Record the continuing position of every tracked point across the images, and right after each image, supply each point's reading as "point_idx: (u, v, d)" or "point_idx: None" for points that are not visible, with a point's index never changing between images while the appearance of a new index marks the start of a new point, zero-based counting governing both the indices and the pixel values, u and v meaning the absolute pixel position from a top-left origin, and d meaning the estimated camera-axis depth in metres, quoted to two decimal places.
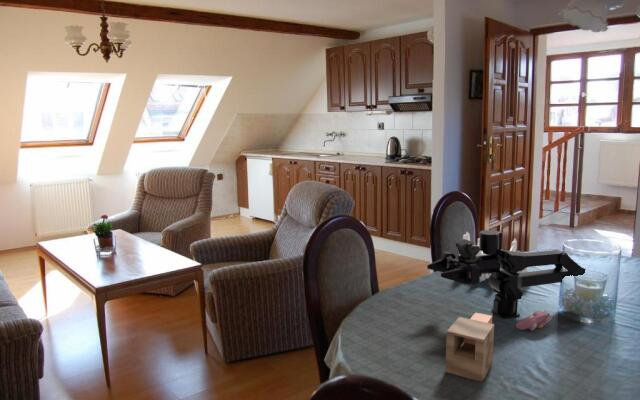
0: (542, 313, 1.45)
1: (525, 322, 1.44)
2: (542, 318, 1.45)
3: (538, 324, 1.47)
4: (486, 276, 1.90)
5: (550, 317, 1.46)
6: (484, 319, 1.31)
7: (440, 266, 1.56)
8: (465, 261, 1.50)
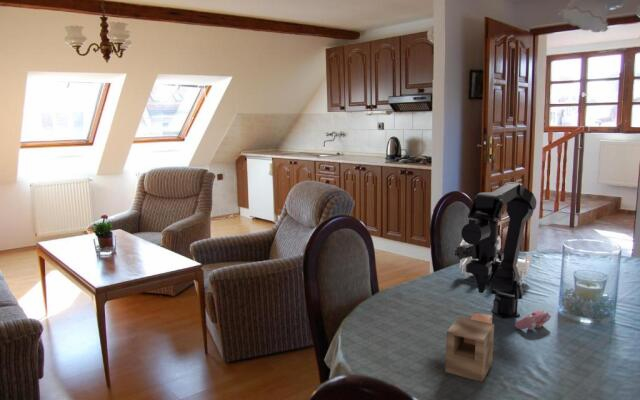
0: (541, 313, 1.45)
1: (524, 321, 1.45)
2: (541, 317, 1.46)
3: (537, 323, 1.47)
4: None
5: (549, 316, 1.47)
6: (484, 319, 1.31)
7: None
8: None
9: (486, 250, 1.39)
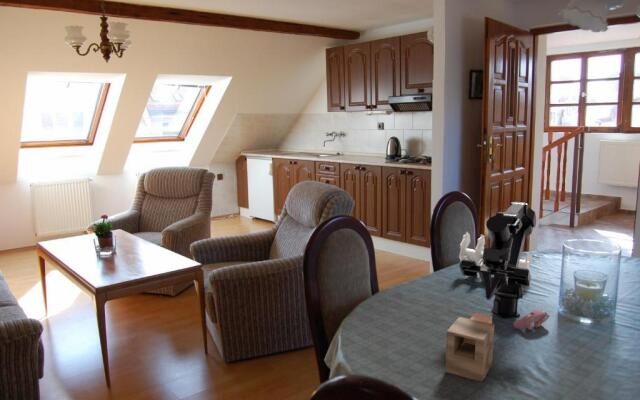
0: (539, 312, 1.46)
1: (523, 321, 1.45)
2: (539, 317, 1.46)
3: (535, 323, 1.48)
4: None
5: (547, 316, 1.47)
6: (484, 319, 1.31)
7: (490, 285, 1.39)
8: (500, 266, 1.38)
9: (507, 263, 1.41)
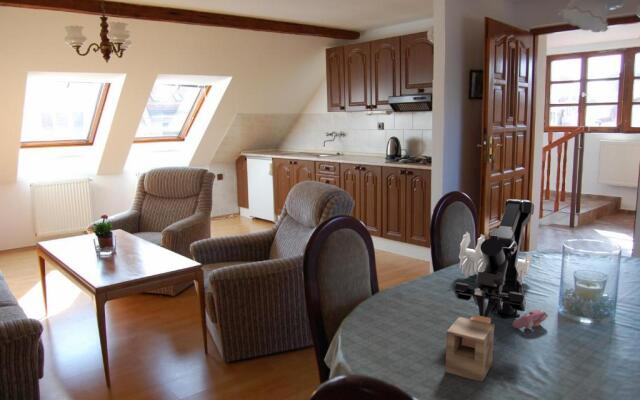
0: (538, 311, 1.46)
1: (521, 320, 1.45)
2: (538, 316, 1.46)
3: (534, 322, 1.48)
4: None
5: (546, 315, 1.47)
6: (483, 321, 1.29)
7: (484, 309, 1.36)
8: (495, 290, 1.35)
9: (502, 287, 1.38)
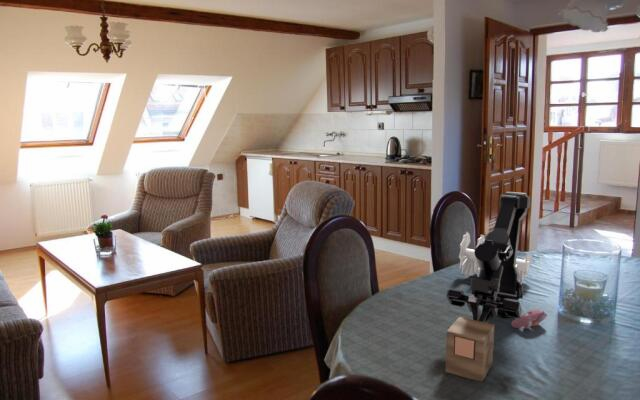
0: (537, 311, 1.46)
1: (520, 320, 1.46)
2: (537, 316, 1.47)
3: (533, 322, 1.48)
4: None
5: (545, 315, 1.48)
6: None
7: (478, 316, 1.31)
8: (489, 297, 1.30)
9: (497, 293, 1.33)
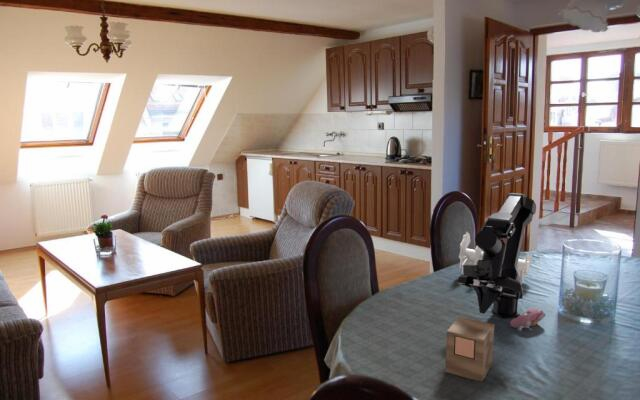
0: (536, 311, 1.47)
1: (519, 319, 1.46)
2: (536, 316, 1.47)
3: (532, 322, 1.49)
4: None
5: (543, 315, 1.48)
6: None
7: None
8: (487, 277, 1.37)
9: (499, 271, 1.38)
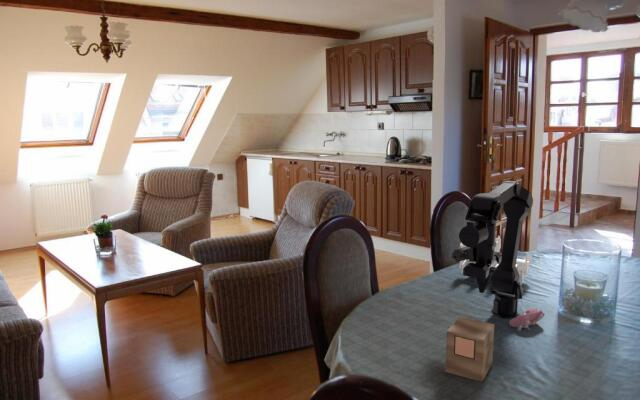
0: (535, 310, 1.47)
1: (518, 319, 1.46)
2: (535, 315, 1.47)
3: (531, 321, 1.49)
4: None
5: (542, 314, 1.48)
6: None
7: None
8: None
9: (483, 253, 1.37)
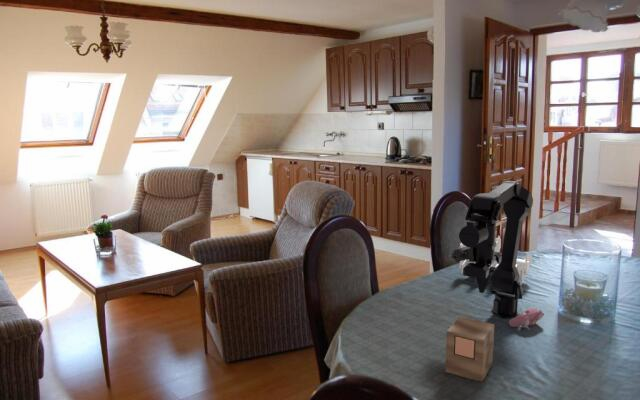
0: (534, 310, 1.47)
1: (518, 319, 1.46)
2: (534, 315, 1.47)
3: (530, 321, 1.49)
4: None
5: (542, 314, 1.48)
6: None
7: None
8: None
9: (483, 253, 1.37)
